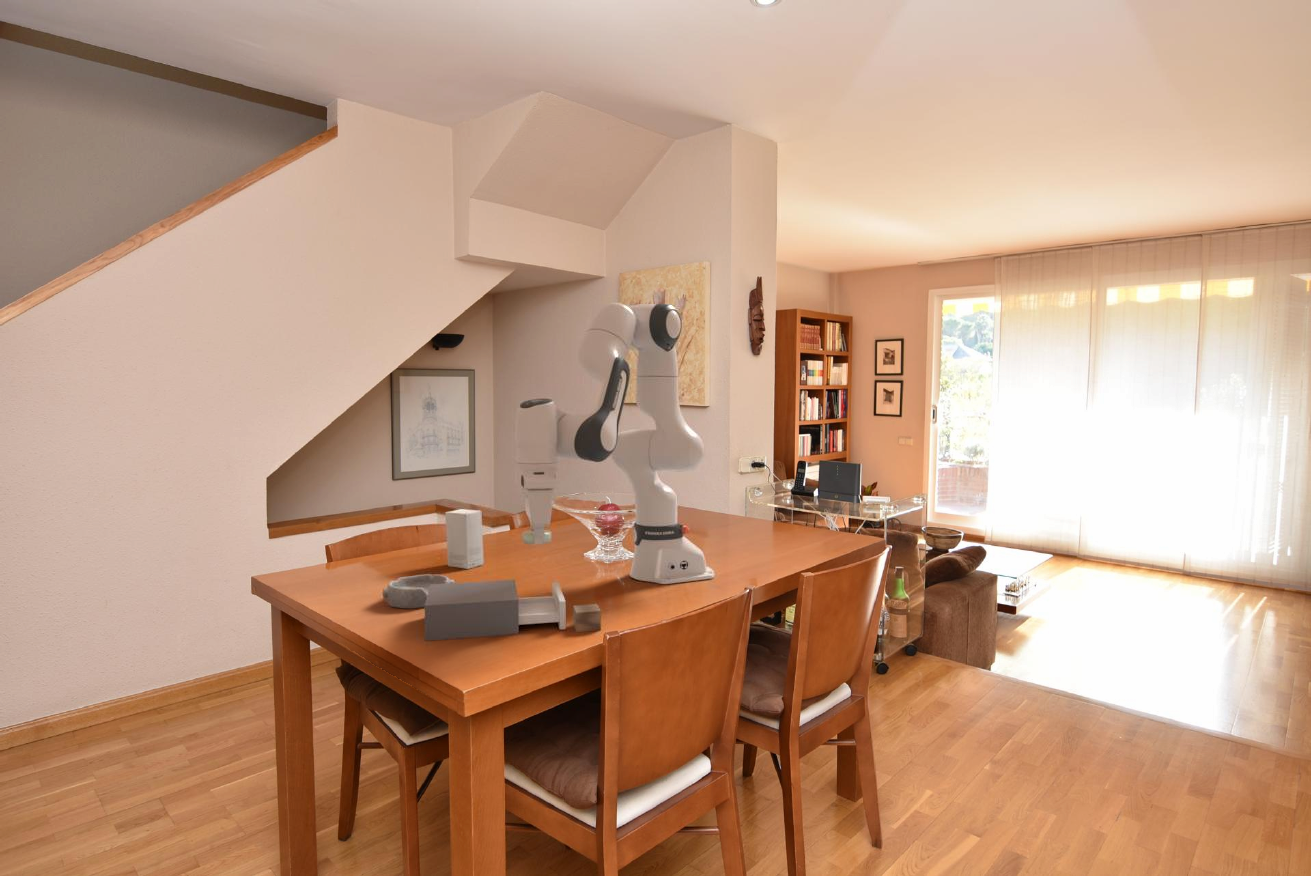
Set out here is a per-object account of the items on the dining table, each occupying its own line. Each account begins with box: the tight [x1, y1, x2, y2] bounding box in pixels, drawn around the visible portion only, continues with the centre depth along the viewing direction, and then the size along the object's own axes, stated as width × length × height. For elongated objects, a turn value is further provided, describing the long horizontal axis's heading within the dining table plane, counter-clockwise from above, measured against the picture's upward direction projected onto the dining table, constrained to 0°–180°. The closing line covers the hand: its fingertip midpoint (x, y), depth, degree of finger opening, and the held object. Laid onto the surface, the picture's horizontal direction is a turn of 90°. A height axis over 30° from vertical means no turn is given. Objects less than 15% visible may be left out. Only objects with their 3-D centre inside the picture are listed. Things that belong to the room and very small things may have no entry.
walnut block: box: [572, 603, 602, 633], centre depth 148 cm, size 5×5×4 cm
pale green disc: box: [522, 529, 552, 545], centre depth 152 cm, size 6×6×2 cm
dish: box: [382, 573, 455, 609], centre depth 167 cm, size 14×14×5 cm
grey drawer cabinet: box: [424, 579, 520, 642], centre depth 150 cm, size 18×16×7 cm
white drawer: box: [518, 581, 567, 630], centre depth 152 cm, size 18×16×6 cm
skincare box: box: [444, 508, 484, 570], centre depth 201 cm, size 8×7×16 cm
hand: (537, 540), depth 152 cm, fingers closed on pale green disc, 6 cm apart
